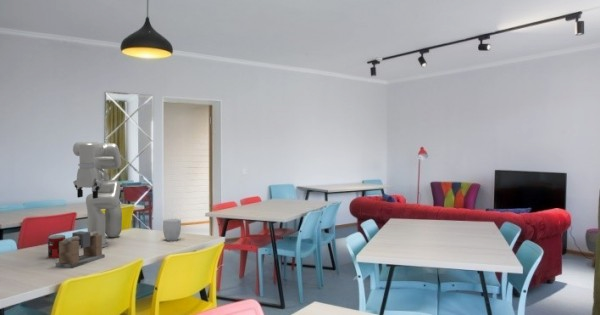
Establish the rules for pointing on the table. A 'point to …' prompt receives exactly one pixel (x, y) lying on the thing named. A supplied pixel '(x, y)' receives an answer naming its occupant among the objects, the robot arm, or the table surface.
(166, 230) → the mug
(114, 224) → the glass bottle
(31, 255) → the table surface
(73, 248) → the rod stand
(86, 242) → the dark grey block
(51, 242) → the canned food
